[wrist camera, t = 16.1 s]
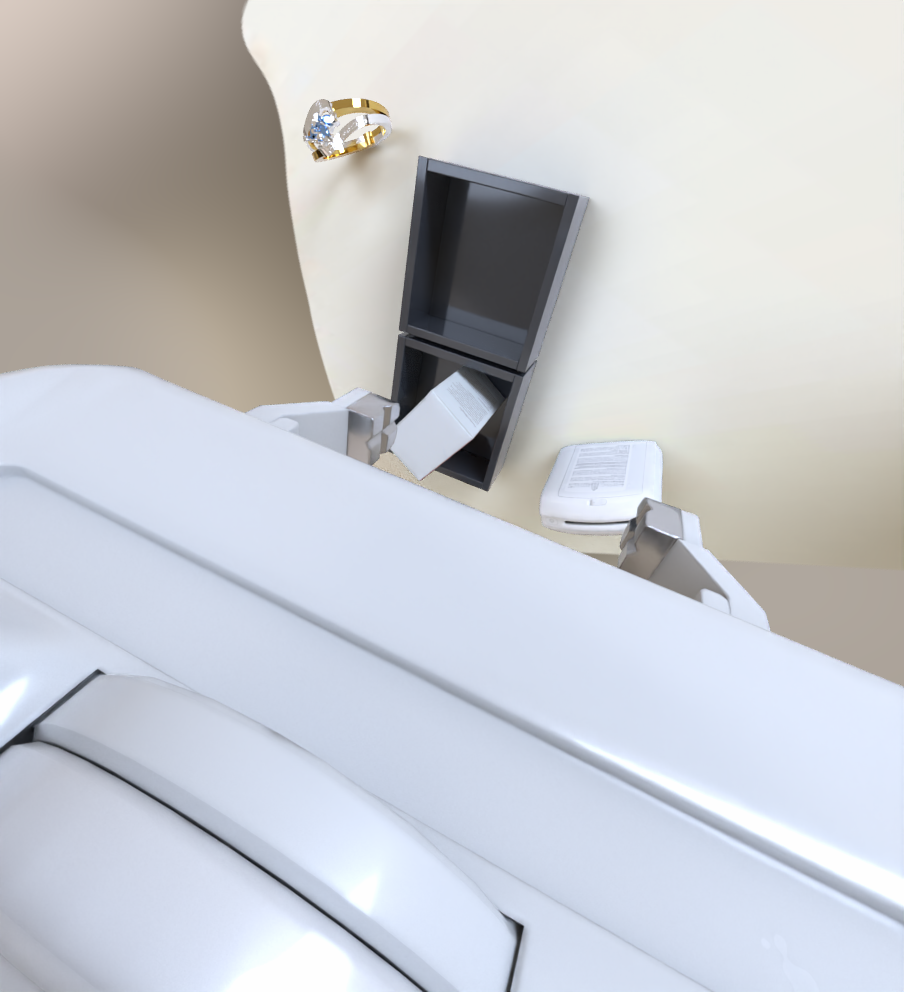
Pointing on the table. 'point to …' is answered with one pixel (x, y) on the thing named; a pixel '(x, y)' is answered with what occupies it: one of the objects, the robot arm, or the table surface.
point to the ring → (322, 127)
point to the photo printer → (600, 486)
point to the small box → (445, 420)
